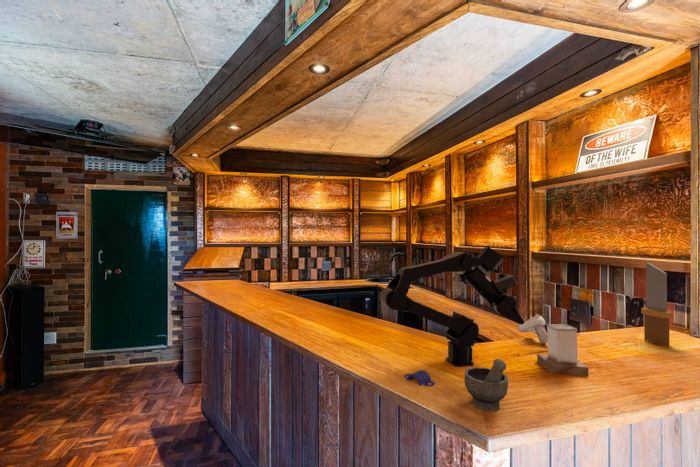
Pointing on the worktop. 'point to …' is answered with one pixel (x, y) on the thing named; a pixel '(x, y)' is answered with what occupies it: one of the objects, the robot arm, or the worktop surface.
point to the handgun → (535, 324)
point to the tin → (562, 343)
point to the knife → (656, 306)
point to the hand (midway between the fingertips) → (518, 319)
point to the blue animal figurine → (421, 377)
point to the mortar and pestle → (487, 385)
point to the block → (562, 366)
